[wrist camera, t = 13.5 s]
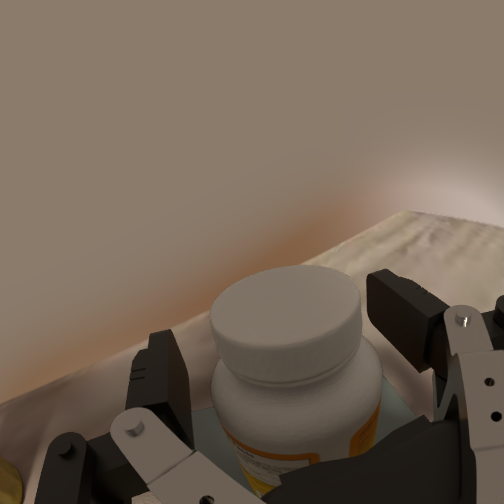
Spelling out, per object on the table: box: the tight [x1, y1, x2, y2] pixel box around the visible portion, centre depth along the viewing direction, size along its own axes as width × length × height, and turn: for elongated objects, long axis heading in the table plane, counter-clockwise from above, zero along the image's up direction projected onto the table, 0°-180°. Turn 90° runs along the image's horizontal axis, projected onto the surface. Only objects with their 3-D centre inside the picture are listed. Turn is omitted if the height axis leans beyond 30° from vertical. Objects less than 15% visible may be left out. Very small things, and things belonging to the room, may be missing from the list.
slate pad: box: [191, 375, 417, 497], centre depth 12 cm, size 12×12×1 cm
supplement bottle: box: [210, 265, 382, 499], centre depth 10 cm, size 5×5×10 cm
